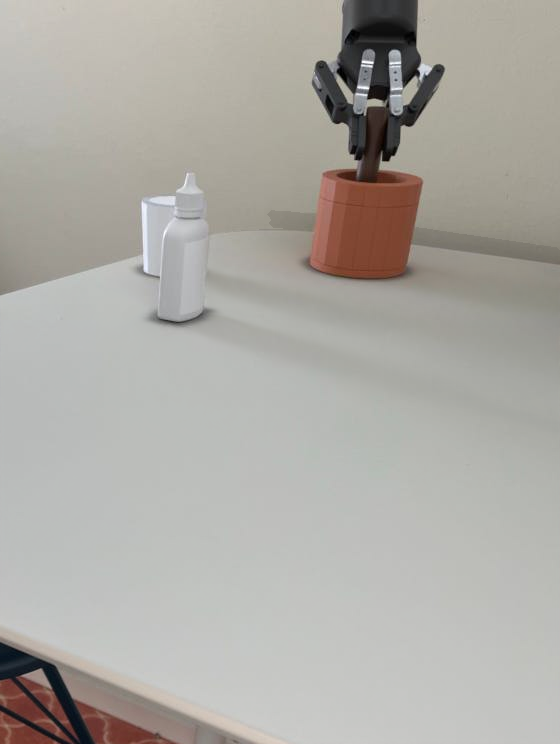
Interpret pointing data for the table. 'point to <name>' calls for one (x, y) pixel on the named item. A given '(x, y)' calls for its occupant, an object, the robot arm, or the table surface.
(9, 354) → the table surface
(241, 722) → the table surface
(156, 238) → the white cup
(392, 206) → the jar
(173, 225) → the eye dropper bottle
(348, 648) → the table surface
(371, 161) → the brush
